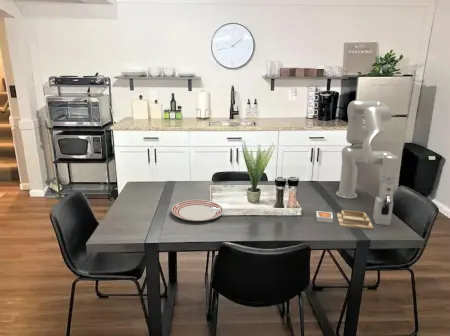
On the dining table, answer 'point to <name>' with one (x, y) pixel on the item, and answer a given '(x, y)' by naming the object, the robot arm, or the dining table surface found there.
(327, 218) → the button housing
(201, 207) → the dinner plate
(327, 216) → the button
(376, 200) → the supplement box
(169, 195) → the dining table surface
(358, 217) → the pallet
